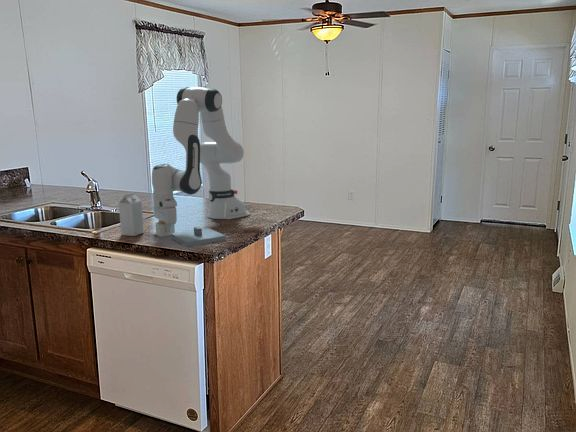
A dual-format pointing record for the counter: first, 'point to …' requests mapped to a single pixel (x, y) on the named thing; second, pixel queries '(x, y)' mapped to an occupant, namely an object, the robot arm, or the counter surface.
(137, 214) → the milk carton
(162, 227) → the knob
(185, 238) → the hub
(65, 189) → the counter surface
